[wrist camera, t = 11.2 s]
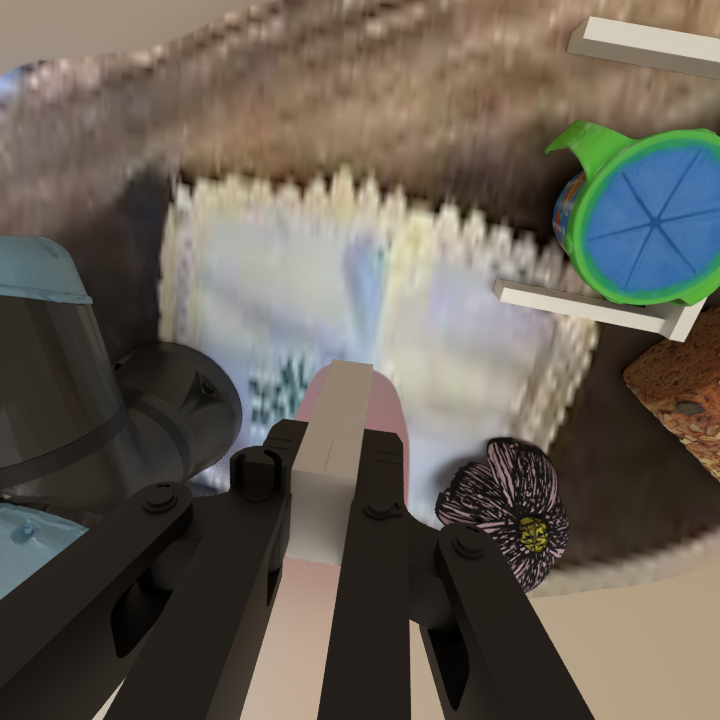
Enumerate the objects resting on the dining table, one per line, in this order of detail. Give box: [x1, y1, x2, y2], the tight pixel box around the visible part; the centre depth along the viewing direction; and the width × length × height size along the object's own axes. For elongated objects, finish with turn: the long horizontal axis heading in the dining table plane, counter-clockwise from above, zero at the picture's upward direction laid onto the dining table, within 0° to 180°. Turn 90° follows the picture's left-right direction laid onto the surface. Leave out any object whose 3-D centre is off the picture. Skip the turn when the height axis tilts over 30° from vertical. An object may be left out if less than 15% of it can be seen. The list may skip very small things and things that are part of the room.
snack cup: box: [545, 120, 720, 307], centre depth 31 cm, size 16×10×10 cm
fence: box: [493, 16, 720, 342], centre depth 33 cm, size 15×20×5 cm
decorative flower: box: [435, 438, 569, 593], centre depth 44 cm, size 14×12×15 cm
